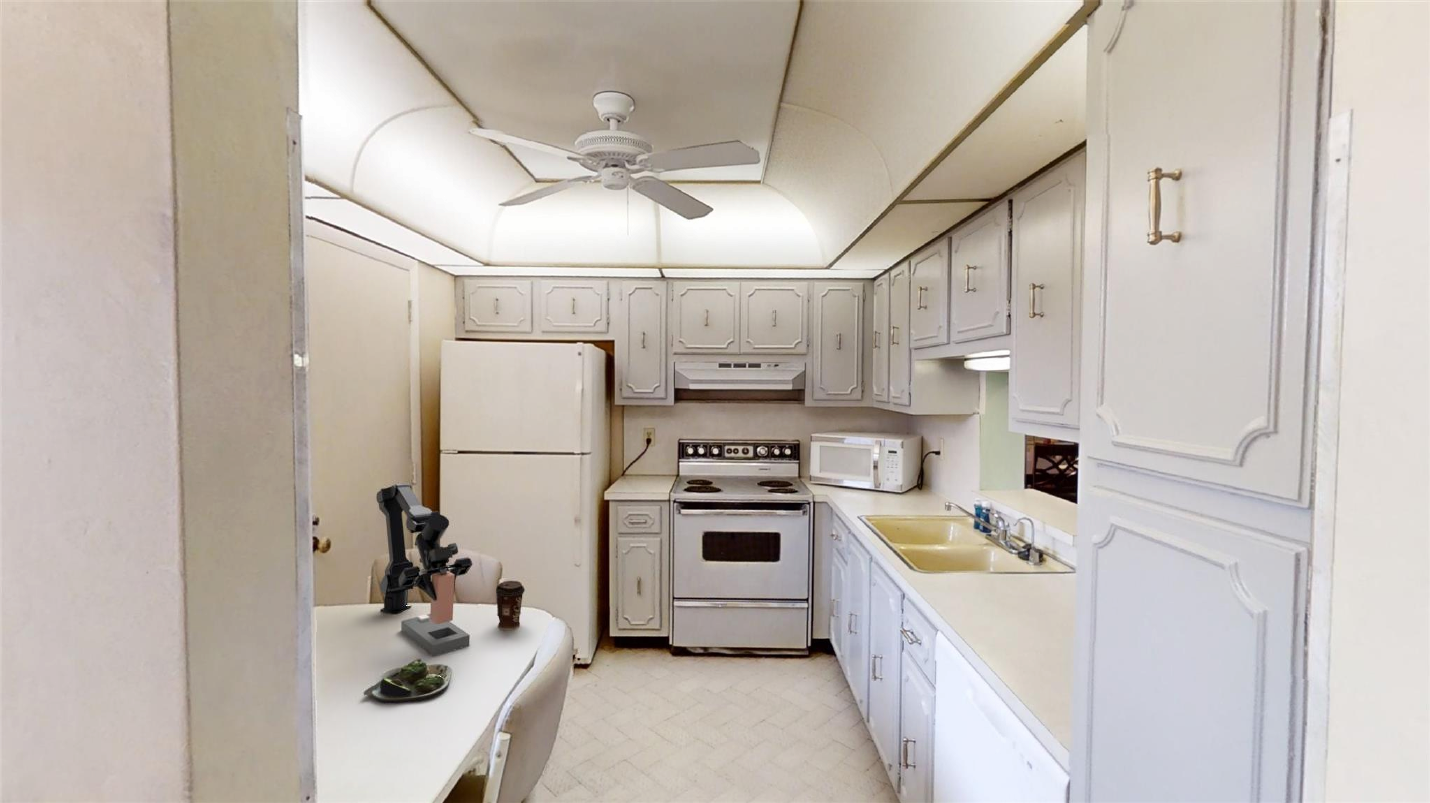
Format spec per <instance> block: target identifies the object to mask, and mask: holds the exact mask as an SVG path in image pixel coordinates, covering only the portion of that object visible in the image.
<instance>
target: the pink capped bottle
mask: <svg viewBox="0 0 1430 803" xmlns="http://www.w3.org/2000/svg"><path fill="white" fill-rule="evenodd" d="M454 577H455V575H454V574H453V573H451V572H449V571H447V568H441V569H440V572H439V573H434V574H432V575H431V581H432V584H433V587H434V590H435V593H436V597H437V600H436V601H434V600H433V599H432V598H431V597H430V610H429V611H430V613H429V614H430V620H431V621H433V622H434V623H435V624H441V623H444V622H448V621H450V622H452V621H453V619H454V616H453V615H454V600H455V599H454V598H455V591H454Z"/></svg>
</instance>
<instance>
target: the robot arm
mask: <svg viewBox="0 0 1430 803" xmlns="http://www.w3.org/2000/svg"><path fill="white" fill-rule="evenodd" d="M375 497H376V498H375V499H376V502H377V503H378V508H379V510H380V512H382V514H383V515H384V516H385V522H386V523H385V524H386V532H387V533H386V535H387V536H386V537H387V545H388V556H389V557H388V558H389V559H388V560H389V562H388V563H387V565H386V567H385V569H384V575H383V578H382V579H381V581H380V583H379V592H381V593H382V594H383V595H384V598H383V599H384V600H383V607H382V608H380V611H381V612H383V613H384V612H385V613H392V614H399V613H401V612H404V611H405V610H408V609H410V608H412V605H411V606H406V605H408V603H409V602H408V599H409V598H408V597H409V590H414V588H419V589H420V590H421V591H423V592H424V593H426V594H427V595H428V596H429V597H430V599H431V598H432V599H433V600H434V601H436V600H437V597H436V593H435V590H434V587H433V584H432V574H434V573H439V572H440V569H441V568H447V571H449V572H451V573H453V574H454V575H455V577H454V592H455V590H456V589H455V588H456V581H457V580H456V578H457V577H458V576H464V575H466V574H468V572H469V571H470V568H471V567H472V566H473V562H472V559H471V557H468V556H467V557H461V558H457V559H455V560H454V563H453V564H448V563H449V562H450V559H452V558H453V557H454V556H455V555H458V554H459V550H458V549H459V548H458V545H457V543H456V542H453V543H449V544H447V546H441V544H440V542H439V540H441V539H442V537H443V536H444V535H445V533H446V531H447V529H448V527H449V526H450V520H449V518H447V516H445V515H443V514H440V513H439V512H440V511H437V510H435V511H432V510H431V509H430V508H428V507H425V506H423V505H422V503H421V502H420V501H419V499H418V497H417V496H416V494H415V493H414V491H413V489H412V485H411V484H410V483H408V482H407V483H396V484H393V485H391V486H390V487H384V488H382V487H381V488H380V490H379V491H377V492H376V496H375ZM403 512H404V514H405V515H406V521H405V522H406V523H405V526H406V529H407V531H409V533H410V534H417V533H418V534H417V535H416V538H414V539H415V540H414V545H415V546H417V550H418V554H419V557H420V558H419V563H420V564H422V568H420V567H419V566H416V565H415V566H414V563H413V561H410V560H409V559H408V558H407V554H406V553H407V552H406V541H405V532H404V522H403V521H404V520H403ZM447 564H448V565H447Z"/></svg>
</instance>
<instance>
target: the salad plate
mask: <svg viewBox="0 0 1430 803" xmlns="http://www.w3.org/2000/svg"><path fill="white" fill-rule="evenodd" d="M452 671H453V669H452V667H451V666H449V665H447V664H444V663H434V664H427V663H426V662H424V661H422V658H416V659H414V660H413V661H411V662H408V664H406V665H404V666H400V667H398V666H397V667H395V668H391V669H390V670H387V671H385V672H383V673H382V675H380V677H379V679H377V680H378V681H376V684H374V685H371V686H369V687H368V688H367V689H366V690H364V691H363V696H369V697H370V698H373V699H374V700H376V701H377V702H379V703H383V704H407V703H417V702H424V701H429V700H430V699H433V698H437V697H438V696H439V695H441V694H442V693H444V692H445V691H446V689H448V687H449V685H450V679H451V677H452V674H453V672H452ZM429 674H430V675H429ZM438 675H440V676H441V677H440V676H438Z"/></svg>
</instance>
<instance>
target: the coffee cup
mask: <svg viewBox="0 0 1430 803" xmlns="http://www.w3.org/2000/svg"><path fill="white" fill-rule="evenodd" d="M525 591H526V590H525V587H524V586H523V584H522V582H520V581H517V580H505V581H502V582H500V583H498V585H497V586H496V588H495V592H496V593H495V594H496V608H497V609H496V610H497V611H496V612H497V613H496V614H497V615H496V616H498V621H499V622H498V624H497V628H498V629H500V630H502V631H512V630H516V629H518V628H520V624H521V622H520V616H521V610H522V602H523V601H522V600H523V595H524V593H525Z"/></svg>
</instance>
